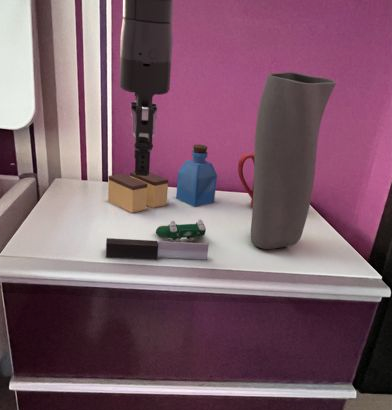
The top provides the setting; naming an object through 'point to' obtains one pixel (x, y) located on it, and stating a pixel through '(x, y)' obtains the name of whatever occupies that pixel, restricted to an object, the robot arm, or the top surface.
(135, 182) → the cake
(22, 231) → the top surface
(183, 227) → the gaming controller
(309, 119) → the vase
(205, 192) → the perfume bottle
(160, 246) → the knife
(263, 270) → the top surface
